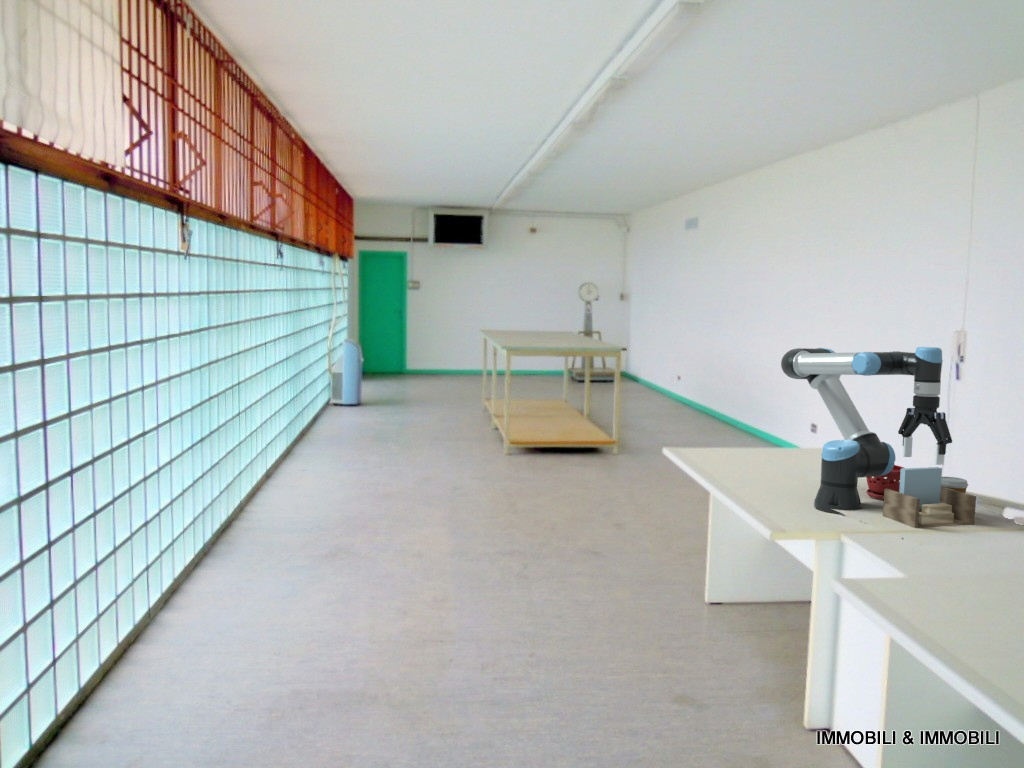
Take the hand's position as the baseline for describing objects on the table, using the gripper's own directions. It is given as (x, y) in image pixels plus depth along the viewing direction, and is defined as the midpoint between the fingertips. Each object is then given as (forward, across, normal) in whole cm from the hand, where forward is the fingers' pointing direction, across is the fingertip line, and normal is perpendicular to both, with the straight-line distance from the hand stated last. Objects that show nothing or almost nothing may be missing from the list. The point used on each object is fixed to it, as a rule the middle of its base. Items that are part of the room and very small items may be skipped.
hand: (922, 460), depth 244 cm
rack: (+20, +4, 0) cm, 20 cm away
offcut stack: (+19, +6, 0) cm, 20 cm away
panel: (+19, 0, 0) cm, 19 cm away
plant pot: (+20, -30, +12) cm, 38 cm away
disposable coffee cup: (+20, -6, +18) cm, 28 cm away
